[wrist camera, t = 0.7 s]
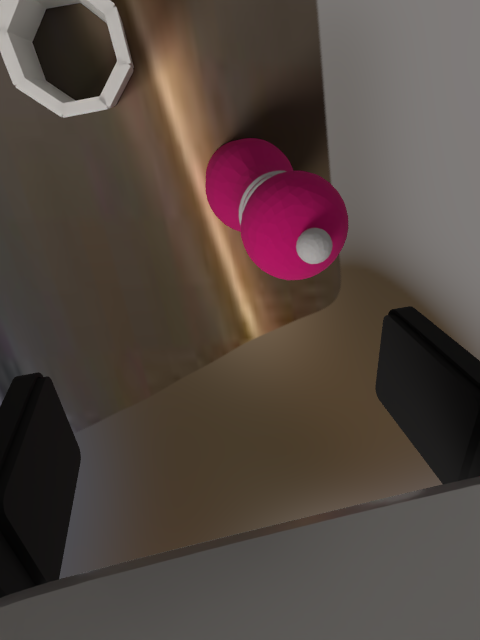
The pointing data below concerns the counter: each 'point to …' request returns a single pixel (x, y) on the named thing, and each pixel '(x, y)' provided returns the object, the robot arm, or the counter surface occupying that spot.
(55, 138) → the counter surface
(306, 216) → the pepper mill
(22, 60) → the white hollow octagonal tube
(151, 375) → the counter surface
